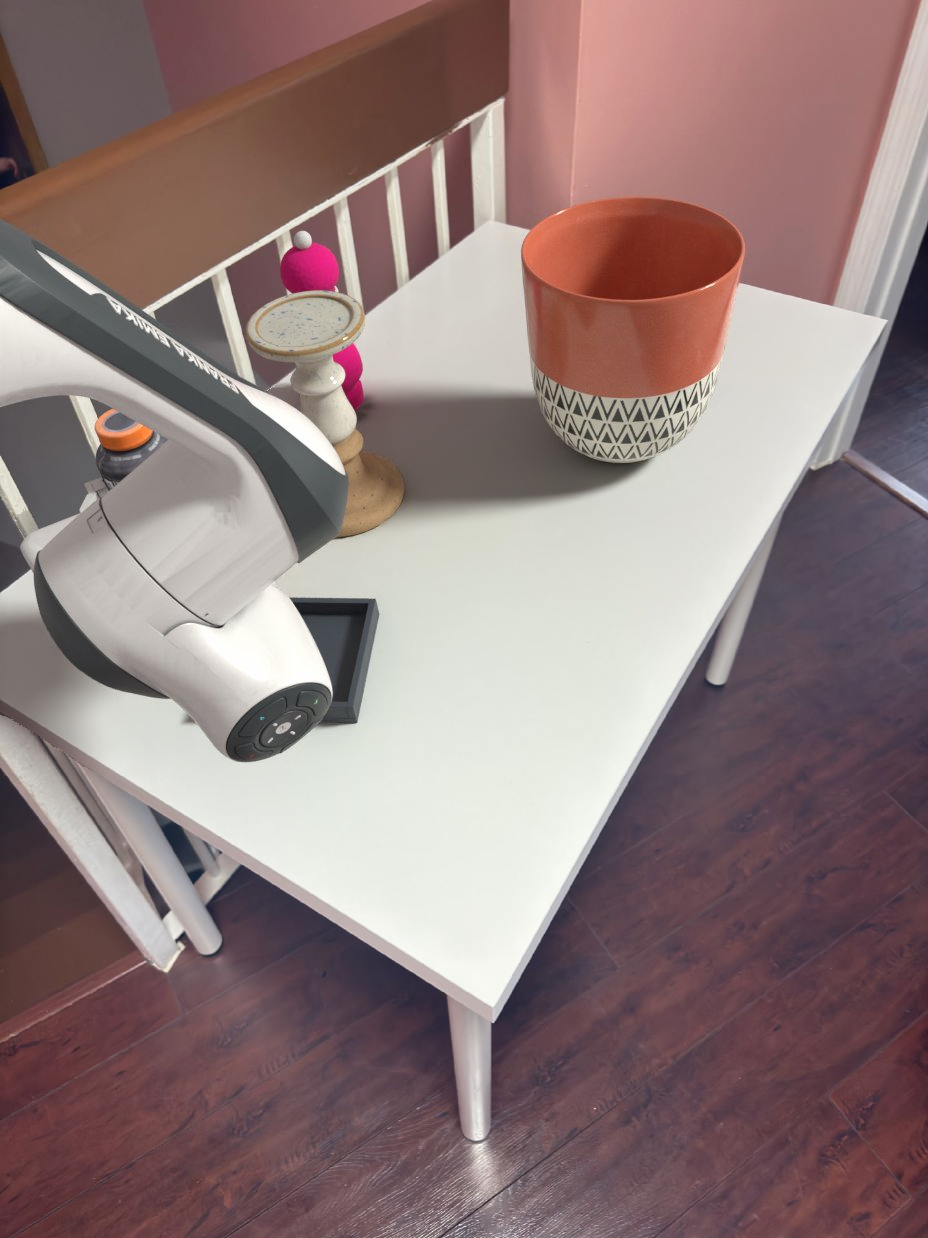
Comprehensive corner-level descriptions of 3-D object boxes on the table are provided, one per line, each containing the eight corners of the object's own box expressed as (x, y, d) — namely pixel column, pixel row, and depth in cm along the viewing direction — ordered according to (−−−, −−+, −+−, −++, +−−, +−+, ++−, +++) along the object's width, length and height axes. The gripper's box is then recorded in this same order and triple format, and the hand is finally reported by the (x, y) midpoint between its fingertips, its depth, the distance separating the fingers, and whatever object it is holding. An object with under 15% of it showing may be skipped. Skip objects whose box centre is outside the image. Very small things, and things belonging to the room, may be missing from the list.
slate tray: (216, 719, 76) (209, 704, 74) (251, 612, 84) (245, 596, 82) (357, 723, 74) (353, 707, 73) (379, 614, 82) (376, 598, 81)
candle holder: (306, 456, 99) (261, 282, 84) (416, 463, 96) (389, 284, 82) (270, 534, 91) (212, 356, 76) (389, 542, 89) (353, 361, 74)
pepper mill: (380, 392, 106) (351, 222, 91) (343, 426, 102) (306, 254, 87) (332, 377, 109) (296, 210, 94) (293, 409, 105) (249, 240, 90)
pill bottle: (160, 502, 78) (112, 389, 70) (218, 515, 77) (176, 401, 68) (119, 548, 75) (63, 435, 66) (179, 563, 73) (130, 448, 65)
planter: (496, 474, 94) (483, 278, 78) (569, 373, 105) (571, 184, 89) (679, 522, 87) (705, 318, 71) (737, 409, 98) (771, 211, 82)
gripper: (324, 480, 64) (253, 389, 72) (33, 600, 58) (-7, 486, 67) (340, 545, 69) (272, 453, 77) (72, 662, 63) (30, 549, 71)
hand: (141, 469), depth 72 cm, fingers closed on pill bottle, 6 cm apart
